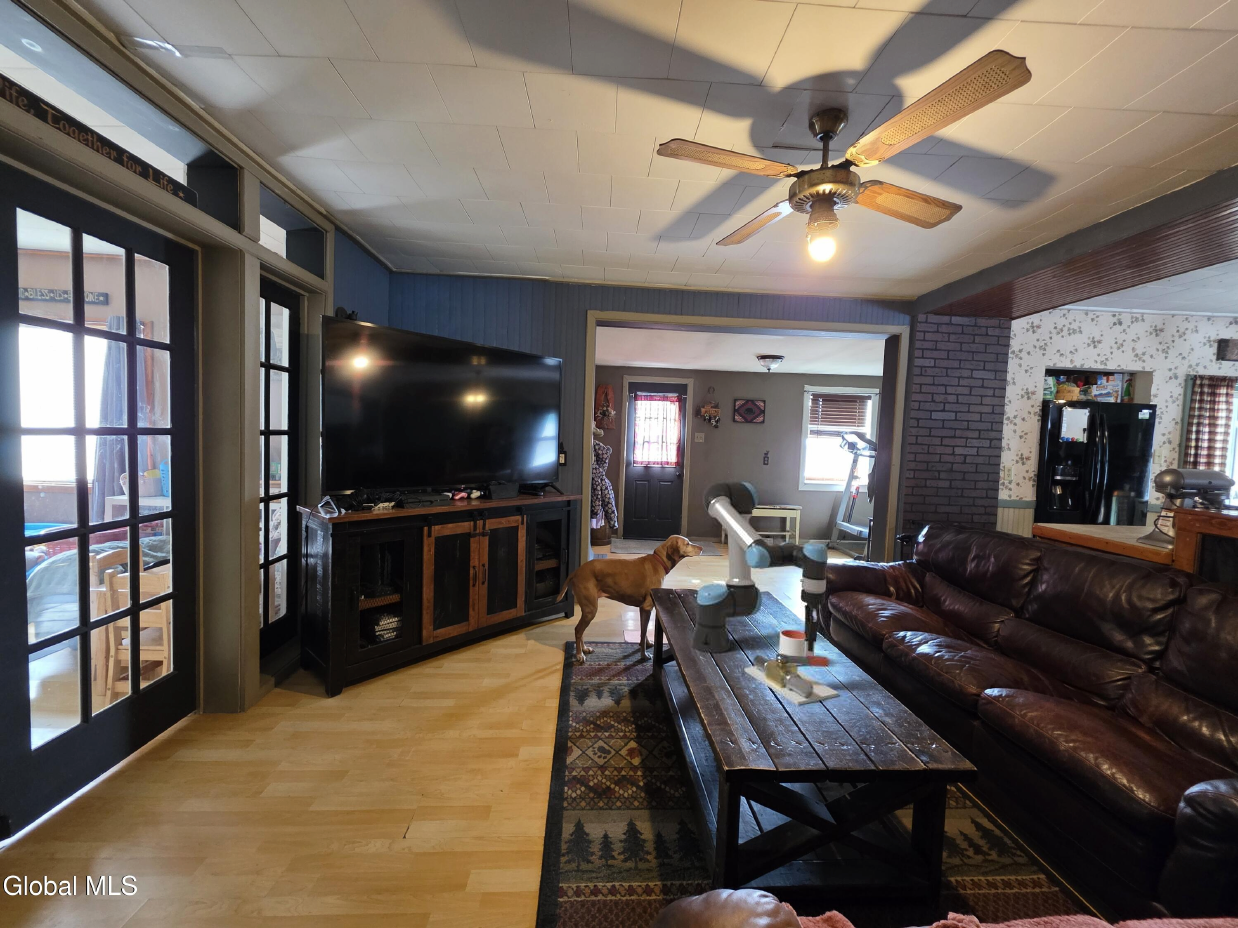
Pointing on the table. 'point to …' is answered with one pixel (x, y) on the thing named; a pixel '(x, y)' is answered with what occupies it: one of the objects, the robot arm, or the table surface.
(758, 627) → the table surface
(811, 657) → the lever
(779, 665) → the valve
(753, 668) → the board
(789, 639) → the cup
